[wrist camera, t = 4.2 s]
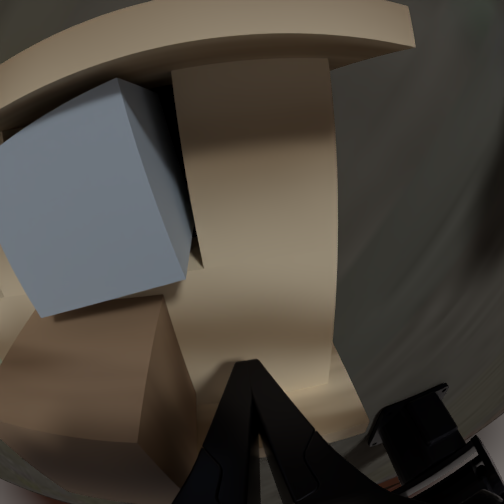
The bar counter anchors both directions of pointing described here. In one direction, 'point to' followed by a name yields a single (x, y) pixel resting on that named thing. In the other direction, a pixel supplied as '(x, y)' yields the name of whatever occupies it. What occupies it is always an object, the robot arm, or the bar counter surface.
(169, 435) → the walnut block
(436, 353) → the bar counter surface
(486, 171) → the bar counter surface
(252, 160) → the box
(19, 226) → the trapped block
